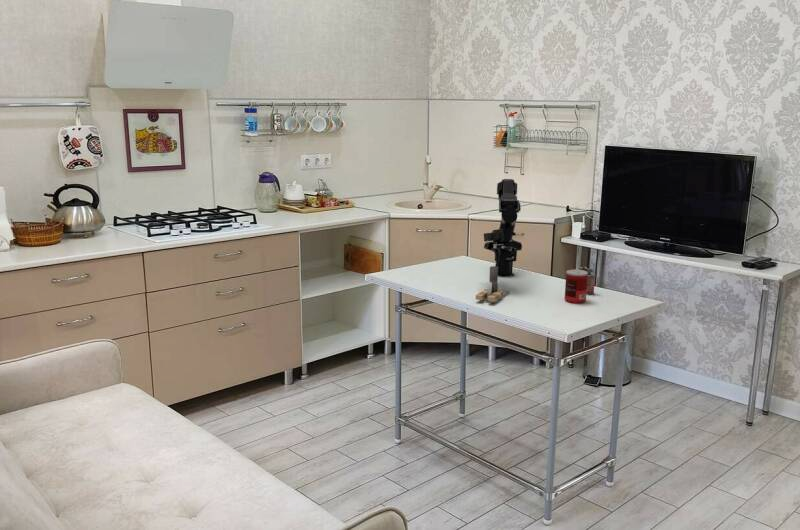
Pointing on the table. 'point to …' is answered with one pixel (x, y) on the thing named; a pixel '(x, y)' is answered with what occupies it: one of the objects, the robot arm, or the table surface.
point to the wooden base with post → (494, 292)
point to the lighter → (589, 280)
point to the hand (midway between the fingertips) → (497, 267)
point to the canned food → (576, 286)
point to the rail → (489, 287)
